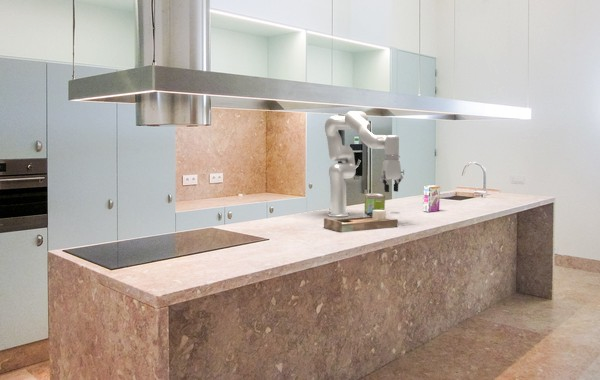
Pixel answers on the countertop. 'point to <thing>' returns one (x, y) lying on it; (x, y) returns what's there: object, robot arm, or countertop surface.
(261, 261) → the countertop surface
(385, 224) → the trap board
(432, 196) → the candy bar box
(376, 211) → the cream block
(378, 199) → the tea box
